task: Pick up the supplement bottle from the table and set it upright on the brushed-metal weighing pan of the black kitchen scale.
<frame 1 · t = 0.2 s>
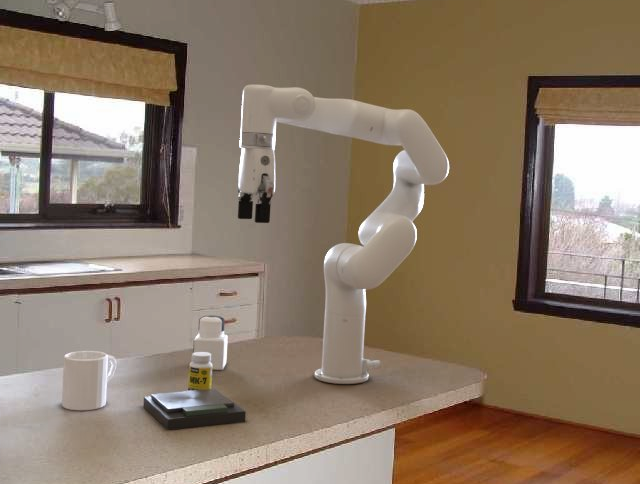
hand: (253, 220, 192), 37 cm above the table, tool pointing down, fingers open, 9 cm apart
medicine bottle: (209, 367, 210), on the table
scale pan: (192, 400, 171), point 2 cm above the table, slide at -0.3 cm
supplement bottle: (199, 394, 186), on the table
mug: (91, 403, 174), on the table
scale: (193, 414, 171), on the table
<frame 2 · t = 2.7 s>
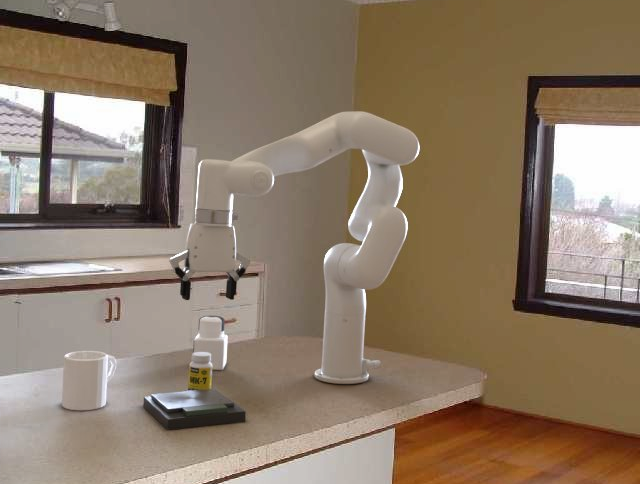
hand: (208, 298, 185), 20 cm above the table, tool pointing down, fingers open, 9 cm apart
nothing on the table moved.
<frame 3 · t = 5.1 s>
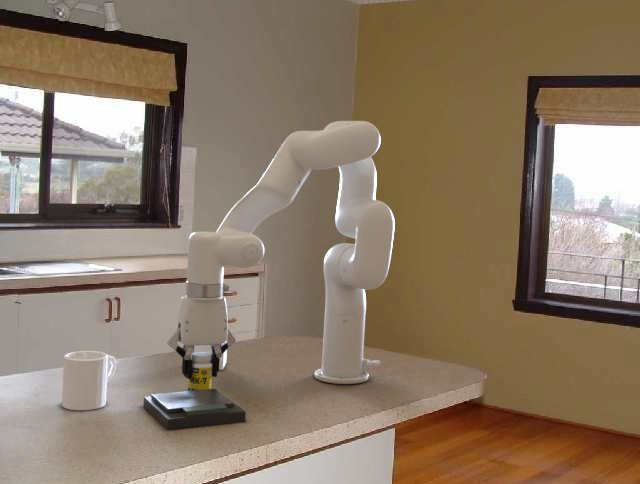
hand: (200, 375, 186), 4 cm above the table, tool pointing down, fingers closed on supplement bottle, 4 cm apart
supplement bottle: (199, 394, 186), on the table, touching gripper
everything else where it was.
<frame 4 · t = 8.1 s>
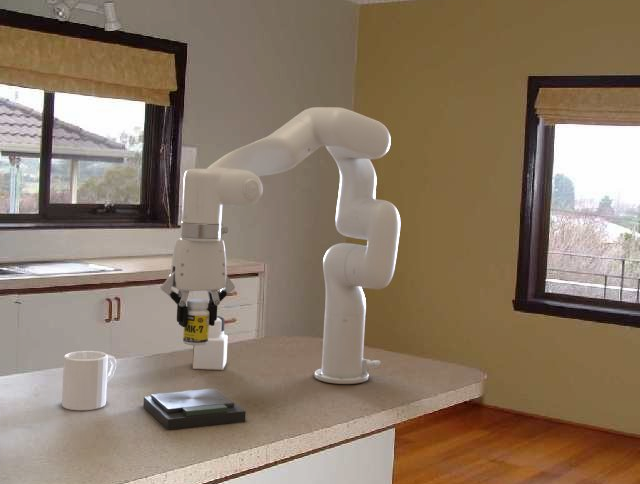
hand: (196, 324, 172), 17 cm above the table, tool pointing down, fingers closed on supplement bottle, 4 cm apart
supplement bottle: (195, 344, 172), point 13 cm above the table, touching gripper
everything else where it was.
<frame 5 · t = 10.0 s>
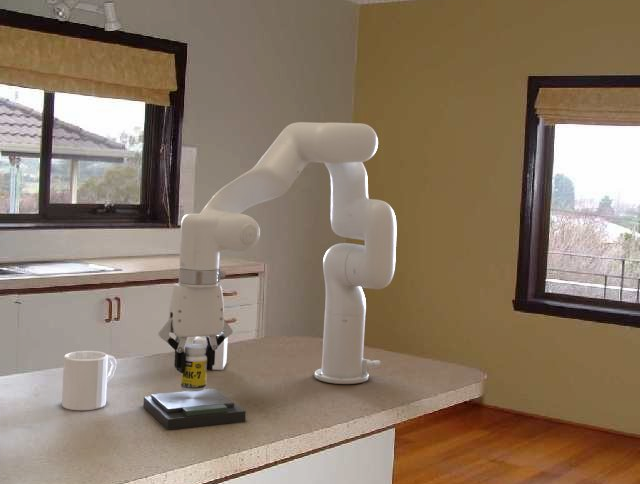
hand: (194, 369, 171), 9 cm above the table, tool pointing down, fingers closed on supplement bottle, 4 cm apart
supplement bottle: (193, 389, 171), point 5 cm above the table, touching gripper
everything else where it was.
when the fingers open (7 cm above the table, at t = 11.0 s): supplement bottle stays where it is, resting on scale pan.
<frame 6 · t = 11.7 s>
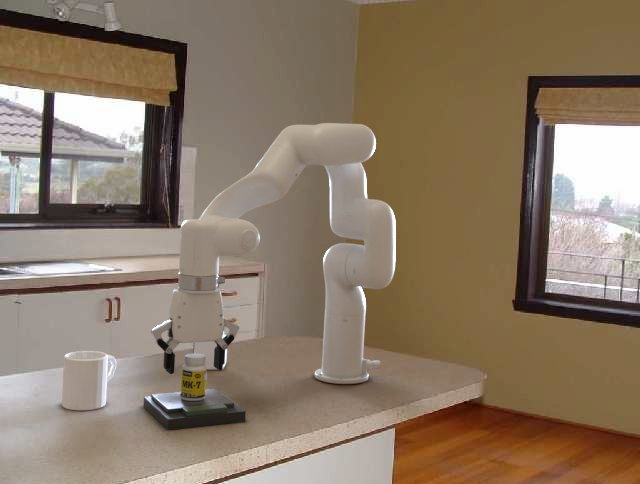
hand: (194, 370, 171), 8 cm above the table, tool pointing down, fingers open, 9 cm apart
scale pan: (192, 400, 171), point 2 cm above the table, slide at -0.4 cm, touching supplement bottle
supplement bottle: (192, 399, 171), point 3 cm above the table, touching scale pan
everything else where it was.
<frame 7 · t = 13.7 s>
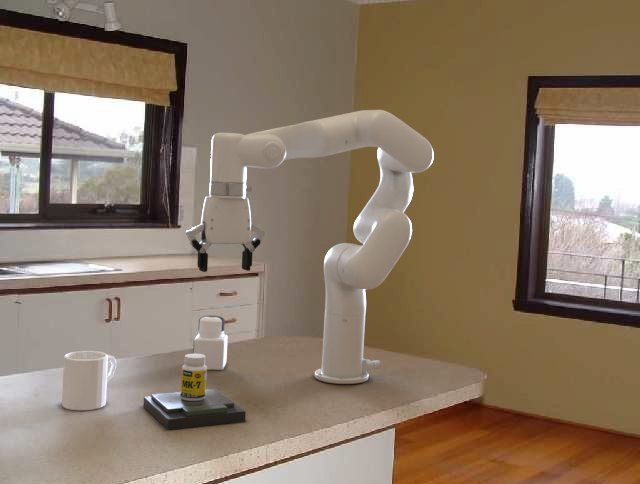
hand: (224, 270, 188), 26 cm above the table, tool pointing down, fingers open, 9 cm apart
nothing on the table moved.
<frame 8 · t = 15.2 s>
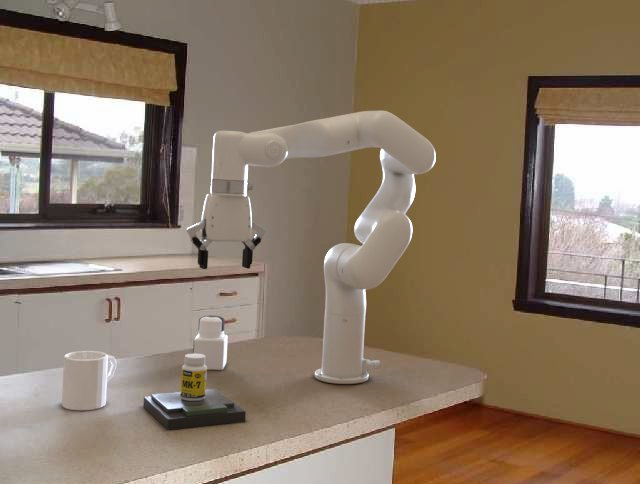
hand: (224, 268, 189), 26 cm above the table, tool pointing down, fingers open, 9 cm apart
nothing on the table moved.
at the end: supplement bottle inside the target area on the scale (0.1 cm from its centre), point 2.6 cm above the scale's base; supplement bottle tilted 0°; the gripper is holding nothing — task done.
